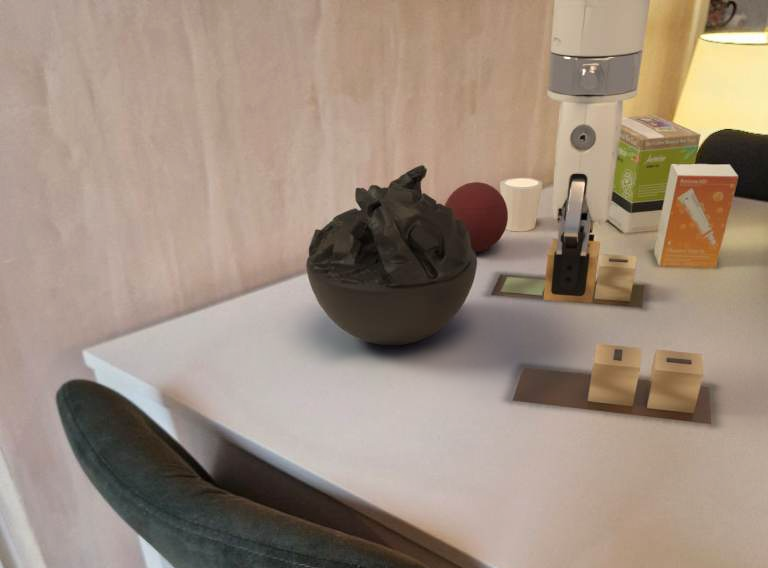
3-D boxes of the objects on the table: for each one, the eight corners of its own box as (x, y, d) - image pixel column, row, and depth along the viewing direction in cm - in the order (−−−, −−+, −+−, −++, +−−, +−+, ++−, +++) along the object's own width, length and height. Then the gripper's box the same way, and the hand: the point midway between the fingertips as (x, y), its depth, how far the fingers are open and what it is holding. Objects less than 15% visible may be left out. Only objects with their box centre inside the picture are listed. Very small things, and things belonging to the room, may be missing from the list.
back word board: (643, 288, 105) (650, 251, 102) (642, 311, 99) (649, 273, 96) (500, 277, 110) (502, 241, 107) (490, 298, 104) (492, 261, 101)
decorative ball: (437, 260, 116) (438, 192, 110) (445, 238, 124) (446, 173, 118) (503, 262, 115) (508, 193, 109) (507, 240, 123) (511, 175, 116)
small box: (658, 269, 111) (676, 174, 103) (652, 254, 116) (670, 162, 108) (716, 271, 110) (739, 175, 102) (708, 255, 115) (730, 163, 107)
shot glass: (496, 232, 126) (499, 187, 122) (498, 219, 131) (501, 176, 127) (538, 233, 125) (543, 188, 121) (538, 220, 130) (542, 176, 126)
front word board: (708, 390, 82) (719, 347, 79) (710, 428, 76) (723, 383, 73) (523, 370, 87) (526, 329, 84) (511, 404, 81) (515, 361, 78)
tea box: (588, 209, 134) (601, 116, 125) (642, 205, 135) (658, 112, 126) (625, 236, 122) (641, 136, 113) (683, 231, 124) (704, 131, 115)
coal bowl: (368, 392, 84) (360, 218, 73) (285, 331, 98) (267, 175, 86) (507, 344, 93) (519, 181, 81) (412, 294, 106) (411, 148, 95)
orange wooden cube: (594, 285, 78) (600, 240, 75) (591, 303, 74) (597, 256, 71) (549, 282, 79) (553, 237, 76) (543, 299, 76) (547, 253, 73)
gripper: (635, 95, 58) (603, 322, 69) (642, 59, 70) (614, 256, 81) (535, 94, 59) (519, 315, 71) (559, 60, 72) (543, 252, 83)
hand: (570, 281), depth 76 cm, fingers closed on orange wooden cube, 4 cm apart
